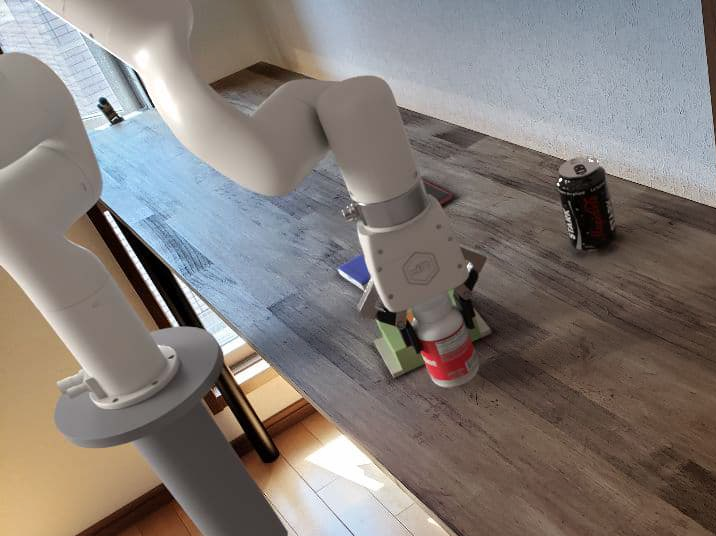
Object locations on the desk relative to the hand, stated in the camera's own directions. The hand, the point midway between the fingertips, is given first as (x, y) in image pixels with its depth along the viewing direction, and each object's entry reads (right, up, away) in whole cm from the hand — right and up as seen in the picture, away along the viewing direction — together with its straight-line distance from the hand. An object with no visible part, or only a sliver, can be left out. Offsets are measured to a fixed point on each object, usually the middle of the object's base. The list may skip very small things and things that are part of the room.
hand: (441, 334), depth 99 cm
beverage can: (+19, +15, +22) cm, 33 cm away
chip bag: (-3, +1, +13) cm, 13 cm away
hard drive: (-12, +13, +31) cm, 36 cm away
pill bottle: (+1, -4, +4) cm, 6 cm away
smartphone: (-10, +27, +45) cm, 54 cm away
